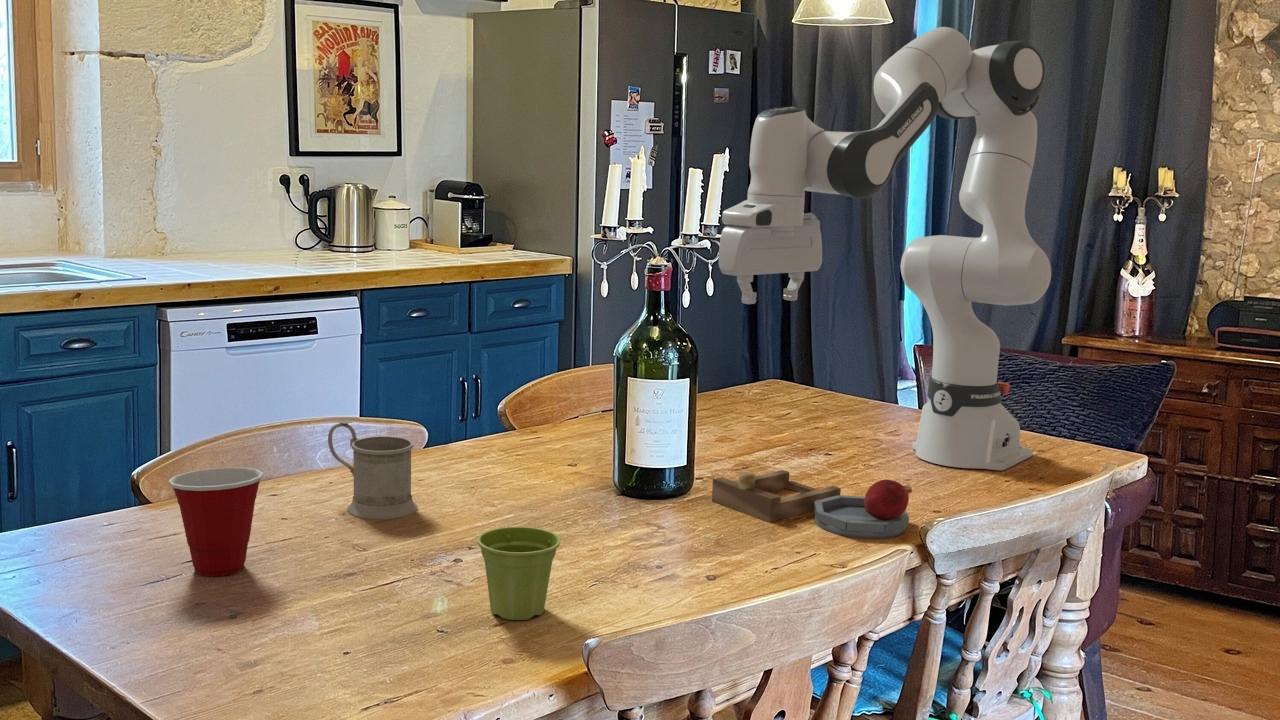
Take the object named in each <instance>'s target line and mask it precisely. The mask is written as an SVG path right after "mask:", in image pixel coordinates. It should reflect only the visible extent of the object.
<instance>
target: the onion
mask: <svg viewBox="0 0 1280 720" xmlns="http://www.w3.org/2000/svg"><path fill="white" fill-rule="evenodd" d="M912 491H913V488H912V486H910V485H902V483H900V482H898V481H896V480H892V479H881V480H878V481H877V482H875V483H873V484H871V485H870V486H869V487H868V489H867V490H866V493H865V495H864V497H865V501H864V504H865V510H866V512H867V513H868V514H870V515H871V516H872V517H874V518H876V519H879V520H884V521H887V520H891V519H895V518H898V517H899V516H900V515H902V514H903V513H904V511H905V510H907V507H908V504H909V499H910V497H909V494H912Z"/></svg>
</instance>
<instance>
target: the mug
mask: <svg viewBox="0 0 1280 720" xmlns="http://www.w3.org/2000/svg"><path fill="white" fill-rule="evenodd" d="M353 422H354V421H353V420H349V419H345V420H338V421H337V423H335V424H334V425H332V426H331V428H329V431H328V435H327V443H328V448H329V451H330V453H331V455H332V456H333V458H334V459H335V460H337V461H338V462H339V463H341V464H342V465H343V466H345V468H347V469H348V470H350V471H349V472H350V473H351V474H352V477H353V496H352V502H351V503H350V504H349V505H348V506H347V507H346V509H347V510H346V512H347V513H348V514H349V515H350V516H353V517H355V518H359V519H364V520H374V521H376V520H377V521H379V520H381V521H382V520H383V521H384V520H387V521H388V520H394V519H395V520H396V519H401V518H405V517H408V516H410V515H413V514H415V513H416V512H418V505H417V504H416V502H414V501H413V495H412V449H413V448H414V443H413V441H412V440H410V439H407V438H405V437H400V436H390V435H389V436H388V435H386V436H384V435H383V436H382V435H380V436H368V437H362V438H359V437H358V438H357V434H356V431H355V429H354V427H352V426H351V425H349V424H351V423H353ZM341 427H343V428H347V429H348V431H350V433H351V437H352V438H350V439H349V441H350V442H349V445H350V447H351V450H353V466H352V465H351V464H350V463H349V462H347V461H346V460H344V459H342V458H341V457H340V456H339V455H338V453H336V451H335V448H334V444H333V433H334V432H335V430H336V429H337V428H341Z"/></svg>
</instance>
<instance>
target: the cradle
mask: <svg viewBox="0 0 1280 720" xmlns="http://www.w3.org/2000/svg"><path fill="white" fill-rule="evenodd" d="M711 488H712V493H711V502H712V503H716V504H718V505H721V506H724V507H726V508H728V509H731V510H732V509H733V510H735V511H738V512H741V513H742V514H746V515H749V516H751V517H755V518H756V519H760V520H763V521H766V522H768V523H771V522H775V521H780V520H784V519H787V518H791V517H795V516H799V515H803V514H807V513H811V512H815V511H814V503H815V501H817V500H821V499H825V498H829V497H833V496H837V495H841V491H842V490H841V488H840V487H839V486H838V487H837V486H835V485H833V486H828V487H823V488H819V489H818V488H814V487H812V486H809V485H806V484H803V483H799V482H796V481H793V480H790V471H787V470H784V469H781V470H776V471H773V472H768V473H762V474H759V475H755V473H753V472H745V471H744V472H739V473H738V479H737V480H736V479H734V480H732V479H730V478H726V477H724V476H721V477H715V478H712V487H711ZM783 489H788V490H791V491H794V492H798V493H799V494H794V495H790V496H786V497H782V498H781V496H780V495H777V494H775V493H771V492H775V491H779V490H783Z"/></svg>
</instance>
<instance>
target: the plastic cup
mask: <svg viewBox="0 0 1280 720" xmlns="http://www.w3.org/2000/svg"><path fill="white" fill-rule="evenodd" d="M263 476H264V472H262V471H261V470H260V469H255V468H249V467H215V468H205V469H198V470H193V471H189V472H183V473H181V474H177V475H175V476H172V477H171V478H170V479H169V480H168V484H169V486H171V487H172V490H173V491H174V494H175V497H176V499H177V504H178V506H179V509H180V514H181V519H182V523H183V529H184V533H185V537H186V542H187V545H188V548H189V553H190V558H191V562H192V566H193V567H194V568H193V569H194V571H195V572H196V574H198V575H201V576H205V577H225V576H231V575H233V574H238V573H239V572H241V571H243V569H244V567H245V563H246V560H247V553H248V545H249V541H250V538H251V530H252V524H253V519H254V512H255V511H254V510H255V505H256V499H257V495H258V490H259V485H260V482H261V480H262V479H263Z"/></svg>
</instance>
